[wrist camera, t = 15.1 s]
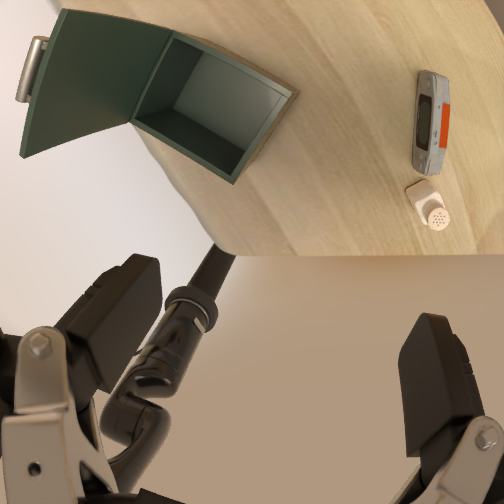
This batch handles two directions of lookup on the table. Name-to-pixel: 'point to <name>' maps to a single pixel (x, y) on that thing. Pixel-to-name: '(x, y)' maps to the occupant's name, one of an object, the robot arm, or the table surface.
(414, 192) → the salt shaker
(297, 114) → the table surface
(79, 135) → the bin lid
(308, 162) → the table surface
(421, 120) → the handheld gaming console
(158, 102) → the bin
